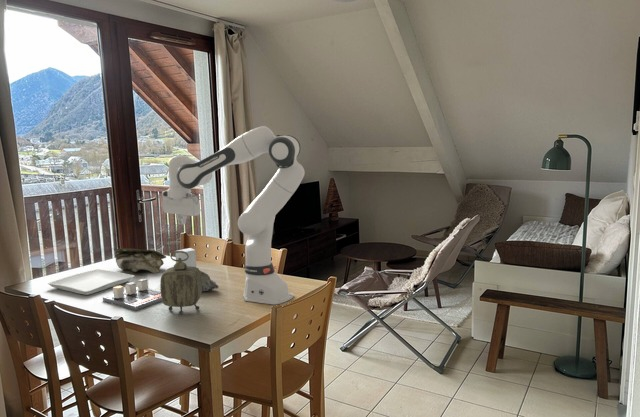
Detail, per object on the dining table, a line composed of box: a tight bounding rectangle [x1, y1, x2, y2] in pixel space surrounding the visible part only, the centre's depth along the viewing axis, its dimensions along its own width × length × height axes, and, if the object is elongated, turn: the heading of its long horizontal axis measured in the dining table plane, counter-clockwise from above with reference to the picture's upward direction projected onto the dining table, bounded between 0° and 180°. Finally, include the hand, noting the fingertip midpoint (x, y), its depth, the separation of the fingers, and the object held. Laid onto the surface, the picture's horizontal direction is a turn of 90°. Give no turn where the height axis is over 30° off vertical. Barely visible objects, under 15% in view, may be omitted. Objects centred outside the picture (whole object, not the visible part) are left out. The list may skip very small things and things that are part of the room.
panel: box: [102, 286, 163, 312], centre depth 207 cm, size 22×18×2 cm
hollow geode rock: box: [114, 247, 167, 274], centre depth 252 cm, size 28×13×15 cm
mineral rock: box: [199, 269, 219, 292], centre depth 217 cm, size 13×11×10 cm
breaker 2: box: [137, 278, 149, 291], centre depth 214 cm, size 3×3×4 cm
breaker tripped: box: [112, 285, 125, 298], centre depth 204 cm, size 3×3×4 cm
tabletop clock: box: [159, 250, 203, 316], centre depth 189 cm, size 14×9×25 cm, turn 92°
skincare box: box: [174, 247, 197, 268], centre depth 236 cm, size 8×6×15 cm
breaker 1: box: [124, 281, 137, 295], centre depth 209 cm, size 3×3×4 cm
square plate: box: [47, 268, 135, 296], centre depth 228 cm, size 27×27×4 cm
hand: (182, 224), depth 211 cm, fingers closed
